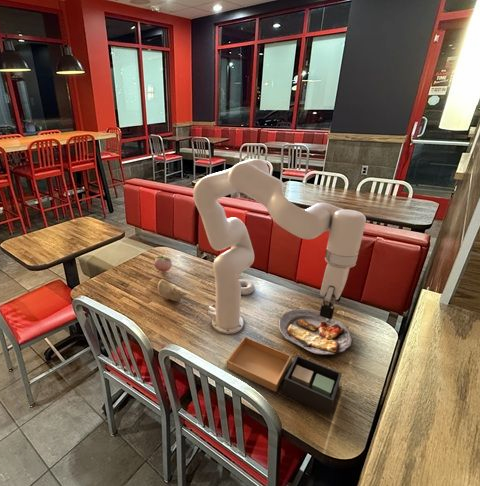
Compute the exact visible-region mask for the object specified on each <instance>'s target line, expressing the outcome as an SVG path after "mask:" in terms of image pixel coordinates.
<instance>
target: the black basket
mask: <svg viewBox="0 0 480 486" xmlns="http://www.w3.org/2000/svg"><path fill="white" fill-rule="evenodd" d="M297 365H299V366H301V367H303V368H306V369H308V370H310V371H313V377H312V383H311V385H310V388H308V387H305V386H303V385H301V384H299V383H297V382H294V381H292V380H291V377H292V374H293V372H294V370H295V368H296V366H297ZM317 374H319V375H322V376H324V377H327V378H329V379H331V380H334V381H335V382H334V386H333V391H332V394H331V398H330V397H328V396H325V395H323V394H321V393H319V392H317V391H314V390H312V385H313V382H314V380H315V377H316V375H317ZM342 374H343V373H342V372H340V371H337V370H335V369H333V368H331V367H328V366H325V365H322V364H321V363H318V362H316V361H313V360H311V359H309V358H305V357H303V356H300V355H298V354H296V356H295V357H294V360H293V362H292V363H291V365H290V367H289V369H288V371H287V374H286V375H285V378H284V383H283V390H282V394H284V395H286V396H288V397H289V398H292V399H294V400H297V401H299V402H301V403H302V404H305V405H307V406H308V407H310V408H313V409H315V410H317V411H319V412H321V413H323V414H326V415H327V416H329V417H330V416H331V413H332V410H333V406H334V403H335V400H336V396H337V393H338V390H339V386H340V382H341V378H342Z"/></svg>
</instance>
